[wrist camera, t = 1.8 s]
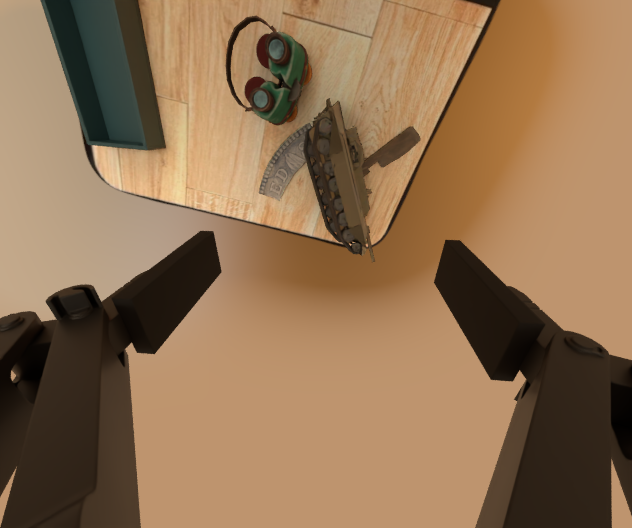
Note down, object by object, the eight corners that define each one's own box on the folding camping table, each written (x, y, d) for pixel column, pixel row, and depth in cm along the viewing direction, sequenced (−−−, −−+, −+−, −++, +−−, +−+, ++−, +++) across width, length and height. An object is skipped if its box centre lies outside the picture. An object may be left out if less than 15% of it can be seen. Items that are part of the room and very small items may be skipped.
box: (55, -52, 29) (15, -77, 25) (128, -47, 29) (98, -72, 25) (111, 142, 39) (87, 144, 35) (166, 148, 38) (147, 150, 35)
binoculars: (204, -30, 22) (308, 31, 22) (253, 21, 31) (326, 63, 31) (183, 85, 26) (271, 134, 26) (232, 100, 35) (296, 136, 36)
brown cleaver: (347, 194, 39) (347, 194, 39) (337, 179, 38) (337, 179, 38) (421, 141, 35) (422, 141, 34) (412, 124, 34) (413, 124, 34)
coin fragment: (275, 206, 41) (274, 207, 41) (251, 186, 40) (250, 186, 40) (328, 141, 36) (327, 141, 35) (302, 115, 35) (301, 115, 34)
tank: (291, 116, 34) (360, 93, 35) (336, 264, 42) (390, 243, 43) (302, 98, 26) (391, 70, 27) (354, 285, 34) (420, 259, 35)
